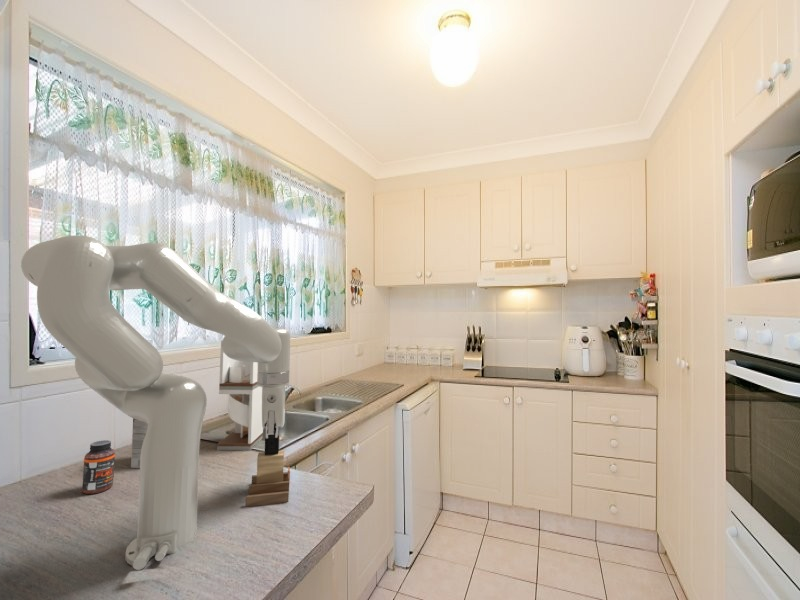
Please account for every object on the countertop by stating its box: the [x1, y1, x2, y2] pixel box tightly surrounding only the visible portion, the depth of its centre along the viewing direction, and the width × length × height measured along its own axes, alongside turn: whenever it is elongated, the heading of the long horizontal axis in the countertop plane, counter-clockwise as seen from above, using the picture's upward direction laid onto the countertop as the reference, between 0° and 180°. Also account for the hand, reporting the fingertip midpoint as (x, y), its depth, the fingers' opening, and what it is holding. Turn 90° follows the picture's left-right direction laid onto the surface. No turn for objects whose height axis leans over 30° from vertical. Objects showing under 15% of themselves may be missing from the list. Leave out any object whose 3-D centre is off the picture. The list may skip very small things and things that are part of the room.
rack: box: [245, 466, 291, 508], centre depth 87 cm, size 11×9×6 cm
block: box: [256, 450, 285, 484], centre depth 89 cm, size 3×6×8 cm, turn 106°
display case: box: [216, 339, 264, 451], centre depth 123 cm, size 11×11×35 cm
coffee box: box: [130, 418, 148, 469], centre depth 107 cm, size 9×6×16 cm
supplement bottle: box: [81, 439, 116, 495], centre depth 90 cm, size 6×6×11 cm
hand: (271, 453), depth 90 cm, fingers closed
